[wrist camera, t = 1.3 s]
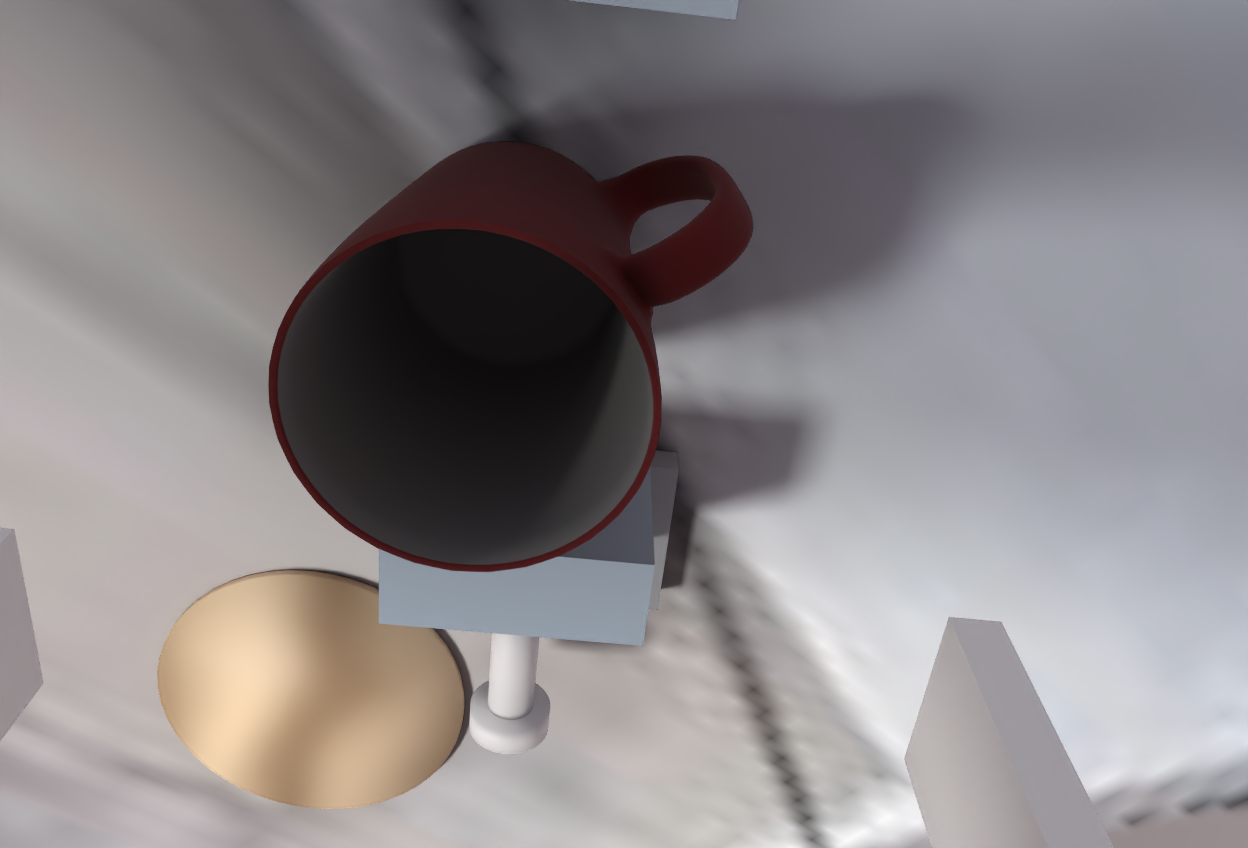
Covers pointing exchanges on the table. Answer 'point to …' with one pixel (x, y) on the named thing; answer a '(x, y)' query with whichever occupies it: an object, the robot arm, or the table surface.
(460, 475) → the mug
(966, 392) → the table surface
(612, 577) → the vise
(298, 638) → the coaster
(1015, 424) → the table surface
